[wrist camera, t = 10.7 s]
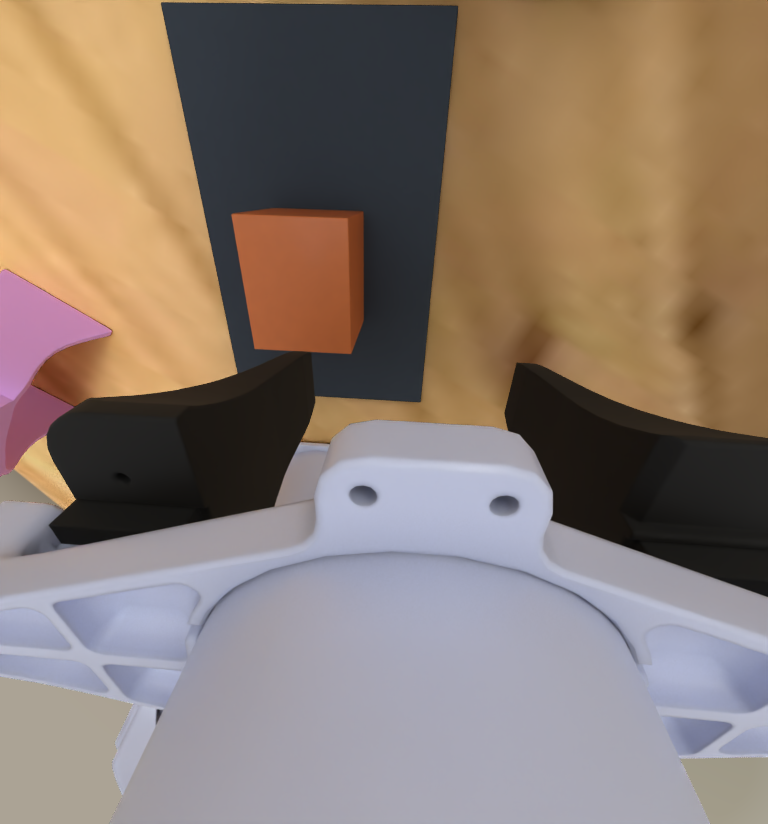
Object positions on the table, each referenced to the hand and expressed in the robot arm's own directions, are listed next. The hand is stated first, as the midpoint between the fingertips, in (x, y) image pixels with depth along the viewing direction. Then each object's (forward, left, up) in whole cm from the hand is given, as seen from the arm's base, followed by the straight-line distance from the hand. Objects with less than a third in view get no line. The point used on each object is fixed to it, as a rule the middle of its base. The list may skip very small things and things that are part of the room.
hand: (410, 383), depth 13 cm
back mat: (+3, +5, -9) cm, 11 cm away
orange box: (+2, +5, -9) cm, 11 cm away
